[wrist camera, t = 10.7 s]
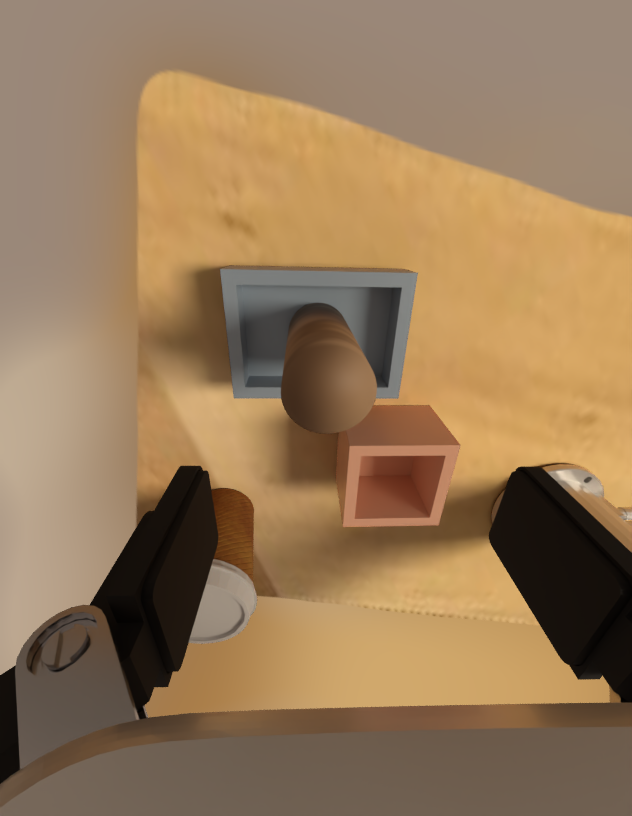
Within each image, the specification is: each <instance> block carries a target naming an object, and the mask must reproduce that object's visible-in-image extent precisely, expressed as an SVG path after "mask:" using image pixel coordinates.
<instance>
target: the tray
mask: <svg viewBox="0 0 632 816" xmlns="http://www.w3.org/2000/svg"><path fill="white" fill-rule="evenodd" d="M220 273H221V283H222V292H223V301H224V311H225V320H226V329H227V339H228V348H229V357H230V367H231V376H232V385H233V395H234V398H281V383H282V375H283V368H284V360H285V352H286V345H287V337H288V329H289V324H290V321H291V319H292V317H293V316H294V314H295V313H296V312H297V311H298V310H299V309H300V308H302V307H303V306H305V305H308V304H311V303H325V304H329V305H331V306H333V307H334V308H336V309H337V310H338V311H339V312H340V313H341V314H342V316H343V317H344V319H345V321H346V323H347V324H348V326H349V328H350V330H351V332H352V334H353V335H354V337H355V339H356V341H357V343H358V344H359V346H360V348H361V350H362V352H363V354H364V355H365V357H366V359H367V361H368V363H369V364H370V366H371V368H372V370H373V372H374V375H375V378H376V382H377V394H376V398H398V397H399V390H400V384H401V378H402V371H403V365H404V358H405V352H406V345H407V339H408V333H409V326H410V320H411V313H412V307H413V300H414V294H415V287H416V281H417V275H418V273H416V272H413V271H409V270H406V269H380V268H331V267H282V266H232V265H230V266H227V267H224V268H222V269H220Z"/></svg>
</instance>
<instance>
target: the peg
mask: <svg viewBox="0 0 632 816" xmlns="http://www.w3.org/2000/svg"><path fill="white" fill-rule="evenodd" d="M376 394H377V382H376V378H375V375H374V372H373V370H372V368H371V366H370V364H369V363H368V361H367V359H366V357H365V355H364V354H363V352H362V350H361V348H360V346H359V344H358V343H357V341H356V339H355V337H354V335H353V334H352V332H351V330H350V328H349V326H348V324H347V323H346V321H345V319H344V317H343V316H342V314H341V313H340V312H339V311H338V310H337V309H336V308H334V307H333V306H331V305H329V304H325V303H311V304H308V305H305V306H303V307H302V308H300V309H299V310H298V311H297V312H296V313H295V314H294V316H293V317H292V319H291V321H290V324H289V329H288V337H287V345H286V352H285V360H284V368H283V375H282V383H281V399H282V403H283V406H284V408H285V410H286V412H287V414H288V415H289V416H290V418H291V419H292V420H293V421H294V422H295V423H297V424H298V425H299V426H301V427H303V428H304V429H307V430H309V431H312V432H316V433H322V434H331V433H338V432H342V431H345V430H348V429H350V428H352V427H354V426H355V425H357V424H358V423H360V422H361V421H362V420H363V419H364V418H365V417H366V416H367V415H368V413H369V412H370V410H371V409H372V407H373V405H374V402H375V399H376Z"/></svg>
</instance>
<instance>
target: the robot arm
mask: <svg viewBox="0 0 632 816" xmlns="http://www.w3.org/2000/svg"><path fill="white" fill-rule="evenodd" d="M491 517H492V527H491V530H490V532H489V540H490V543H491V545H492V547H493V549H494V550H495V552H496V554H497V555H498V557H499V559H500V560H501V562H502V564H503V565H504V567H505V568H506V570H507V572H508V573H509V575H510V577H511V578H512V580H513V582H514V583H515V585H516V586H517V588H518V590H519V591H520V593H521V595H522V596H523V598H524V599H525V601H526V603H527V604H528V606H529V608H530V609H531V611H532V613H533V614H534V616H535V617H536V619H537V621H538V622H539V624H540V626H541V627H542V629H543V630H544V632H545V634H546V635H547V637H548V638H549V640H550V642H551V644H552V645H553V647H554V648H555V650H556V652H557V653H558V655H559V656H560V658H561V659H562V660H563V661H564V662H565V663H566V664H568V665H570V667H571V669H572V670H573V672H574V673H575V675H576V677H577V678H578V679H600V678H601V677H602V675H603V677H604V678H605V680H606V681H607V683H608V684H609V689H610V703H566V704H565V703H559V704H498V705H497V704H496V705H449V706H448V705H447V706H399V707H357V708H320V709H281V710H251V711H230V712H209V713H189V714H179V715H169V716H160V717H151V718H148V715H147V712H146V709H145V706H144V705H145V704H146V703H147V702H149V700H150V697H151V695H152V692H153V689H154V687H168V685H169V682H170V679H171V675H172V672H173V671H179V669H180V668H181V665H182V662H183V659H184V656H185V653H186V649H187V645H188V642H189V639H190V636H191V632H192V629H193V626H194V622H195V619H196V616H197V612H198V609H199V606H200V602H201V599H202V596H203V592H204V589H205V586H206V582H207V579H208V576H209V572H210V569H211V566H212V562H213V559H214V556H215V552H216V549H217V545H218V529H217V523H216V516H215V510H214V504H213V498H212V492H211V485H210V479H209V474H208V471H203V470H202V467H201V466H180V467H179V469H178V470H177V472H176V474H175V476H174V477H173V479H172V481H171V482H170V484H169V486H168V488H167V489H166V491H165V493H164V495H163V496H162V498H161V500H160V502H159V503H158V505H157V507H156V508H155V510H154V511H149V512H147V513H146V514H145V515H144V516H143V518H142V519H141V521H140V523H139V524H138V526H137V527H136V529H135V531H134V532H133V534H132V536H131V537H130V539H129V541H128V543H127V544H126V546H125V547H124V549H123V551H122V553H121V554H120V556H119V557H118V559H117V561H116V562H115V564H114V566H113V567H112V569H111V570H110V572H109V574H108V575H107V577H106V579H105V580H104V582H103V584H102V585H101V587H100V589H99V590H98V592H97V594H96V595H95V597H94V599H93V601H92V602H91V604H90V605H81V606H76V607H71V608H69V609H67V610H65V611H62V612H60V613H58V614H56V615H55V616H53V617H52V618H50V619H49V620H47V621H46V622H45V623H43V624H42V625H41V626H40V627H39V628H38V629H37V630H36V631H35V632H33V634H32V635H31V636H30V637H29V639H28V640H27V641H26V643H25V644H24V645H23V647H22V649H21V651H20V653H19V655H18V657H17V662H16V666H14V667H13V668H11V669H9V670H8V671H6V672H5V673H3V674H2V675H0V816H632V521H624V520H632V507H625V508H615V507H614V506H613V505H612V504H611V503H610V502H608V501H607V500H606V499H605V498H604V489H603V485H602V483H601V481H600V480H599V479H598V478H597V477H596V476H595V475H594V474H592V473H591V472H590V471H588V470H587V469H585V468H582V467H580V466H576V465H570V464H557V465H551V466H546V467H542V468H541V467H518V468H517V469H516V471H515V472H512V473H511V475H510V478H509V480H508V483H507V486H506V489H505V490H504V491H503V492H502V493H501V494H500V496H499V497H498V499H497V500H496V502H495V504H494V507H493V510H492V515H491Z"/></svg>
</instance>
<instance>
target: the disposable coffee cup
mask: <svg viewBox="0 0 632 816" xmlns="http://www.w3.org/2000/svg"><path fill="white" fill-rule="evenodd" d="M211 492H212V498H213V504H214V510H215V516H216V523H217V529H218V545H217V549H216V552H215V556H214V559H213V562H212V566H211V569H210V572H209V576H208V579H207V582H206V586H205V589H204V592H203V596H202V599H201V602H200V606H199V609H198V612H197V616H196V619H195V622H194V626H193V629H192V632H191V636H190V639H189V643H201V644H203V643H214V642H220V641H224V640H227V639H229V638H231V637H234V636H236V635H237V634H239V633H240V632H241V631H242V630H243V629H244V628H245V626H246V625H247V623H248V621H249V618H250V616H251V615H252V613H253V612H254V610H255V608H256V604H257V595H256V591H255V588H254V585H253V521H254V519H253V518H254V508H253V504H252V502H251V501H250V499H249V498H248V497H247V496H245V495H244V494H243V493H241V492H239V491H236V490H232V489H224V488H223V489H216V490H212V491H211Z"/></svg>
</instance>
